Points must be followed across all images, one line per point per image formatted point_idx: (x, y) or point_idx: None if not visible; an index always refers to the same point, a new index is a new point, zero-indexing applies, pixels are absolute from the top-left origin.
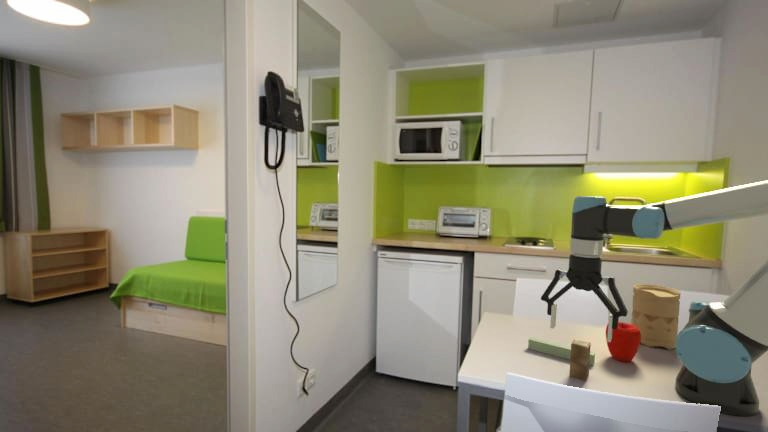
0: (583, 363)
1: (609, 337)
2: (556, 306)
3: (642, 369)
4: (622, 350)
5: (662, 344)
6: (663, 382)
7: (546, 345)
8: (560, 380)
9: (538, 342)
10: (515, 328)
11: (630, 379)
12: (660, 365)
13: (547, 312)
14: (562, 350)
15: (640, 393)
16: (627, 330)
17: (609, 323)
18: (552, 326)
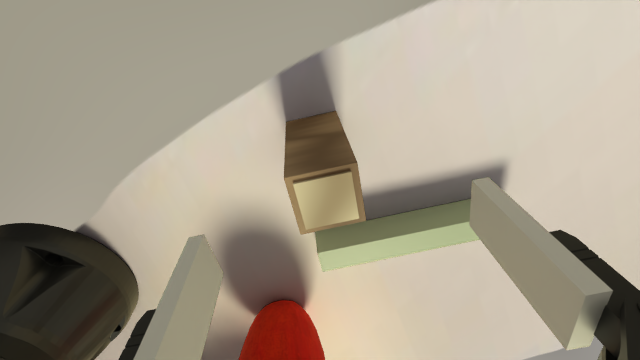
0: (298, 142)
1: (188, 253)
2: (550, 322)
3: (225, 297)
4: (268, 323)
5: None
6: (160, 272)
7: (456, 219)
8: (346, 57)
9: None
10: None
11: (214, 230)
12: (211, 339)
13: (576, 241)
14: (405, 228)
15: (155, 174)
16: None
17: (162, 324)
18: (482, 185)
